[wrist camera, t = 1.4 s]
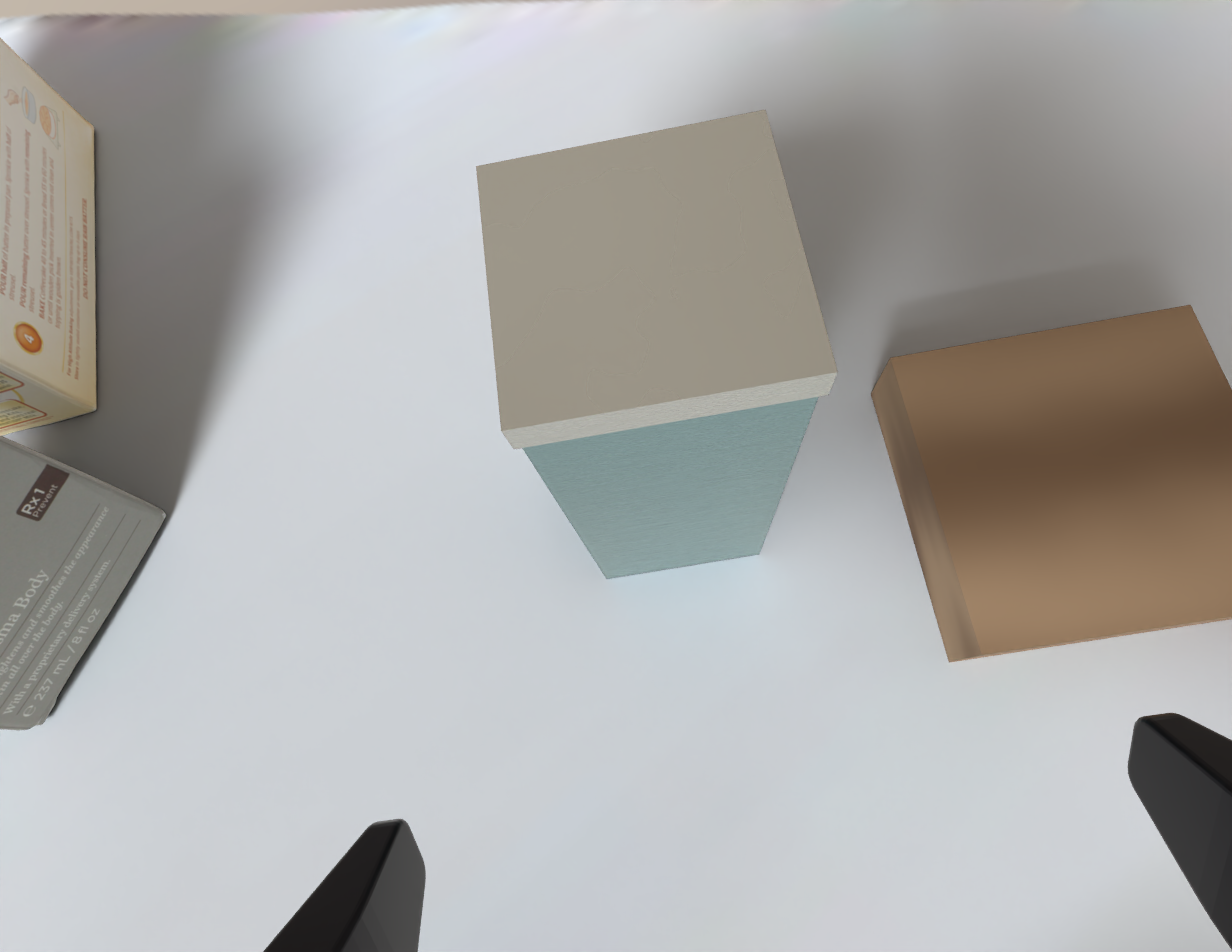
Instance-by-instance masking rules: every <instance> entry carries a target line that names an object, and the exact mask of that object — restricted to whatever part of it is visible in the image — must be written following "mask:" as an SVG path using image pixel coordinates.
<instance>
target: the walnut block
mask: <svg viewBox="0 0 1232 952" xmlns="http://www.w3.org/2000/svg"><path fill="white" fill-rule="evenodd" d="M871 396H872V400H873V403H874V407H875V410H876V413H877V417H878V420H879V424H880V427H881V431H882V434H883V437H884V441H885V444H886V448H887V451H888V455H889V458H890V461H891V465H892V468H893V472H894V475H895V479H896V482H897V485H898V489H899V492H900V496H901V499H902V503H903V506H904V509H905V513H906V516H907V520H908V523H909V527H910V530H911V534H912V537H913V540H914V544H915V547H916V551H917V554H918V558H919V561H920V564H921V568H922V571H923V575H924V578H925V582H926V585H927V588H928V592H929V595H930V599H931V602H932V606H933V609H934V612H935V616H936V619H937V623H938V626H939V630H940V633H941V636H942V640H943V643H944V647H945V650H946V654H947V657H948V660H949V662H955V661H962V660H968V659H975V658H981V657H988V656H994V655H1001V654H1007V653H1014V652H1020V651H1027V650H1033V649H1040V648H1046V647H1053V646H1059V645H1066V644H1072V643H1079V642H1085V641H1092V640H1098V639H1105V638H1111V637H1118V636H1124V635H1131V634H1138V633H1144V632H1151V631H1157V630H1164V629H1170V628H1177V627H1183V626H1190V625H1196V624H1203V623H1209V622H1216V621H1222V620H1229V619H1232V390H1231V387H1230V385H1229V383H1228V381H1227V379H1226V377H1225V375H1224V373H1223V371H1222V369H1221V367H1220V365H1219V363H1218V361H1217V358H1216V356H1215V354H1214V352H1213V350H1212V348H1211V346H1210V344H1209V342H1208V340H1207V338H1206V336H1205V334H1204V331H1203V329H1202V327H1201V325H1200V323H1199V321H1198V319H1197V317H1196V315H1195V313H1194V311H1193V309H1192V307H1191V305H1187V306H1181V307H1175V308H1170V309H1164V310H1158V311H1153V312H1147V313H1141V314H1136V315H1130V316H1124V317H1119V318H1113V319H1107V320H1102V321H1096V322H1090V323H1085V324H1079V325H1073V326H1068V327H1062V328H1056V329H1051V330H1045V331H1039V332H1034V333H1028V334H1022V335H1017V336H1011V337H1005V338H1000V339H994V340H988V341H983V342H977V343H971V344H966V345H960V346H954V347H949V348H943V349H937V350H932V351H926V352H920V353H915V354H909V355H903V356H898V357H892V358H890V359H889V361H888V363H887V365H886V367H885V369H884V370H883V372H882V374H881V376H880V378H879V380H878V382H877V383H876V385H875V387H874V389H873V391H872V393H871Z"/></svg>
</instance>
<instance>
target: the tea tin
mask: <svg viewBox="0 0 1232 952" xmlns="http://www.w3.org/2000/svg"><path fill="white" fill-rule="evenodd" d="M476 170H477V180H478V191H479V201H480V212H481V222H482V233H483V243H484V254H485V264H486V275H487V285H488V296H489V307H490V317H491V328H492V338H493V349H494V359H495V370H496V380H497V391H498V401H499V412H500V422H501V431H502V433H503V434H504V436H505V437H506V439H507V440H508V442H509V443H510V445H511V446H512V448H513V449H520V448H523V450H524V451H525V453H526V454H527V456H528V458H529V459H530V461H531V462H532V464H533V465H534V467H535V468H536V470H537V472H538V473H539V475H540V476H541V478H542V479H543V481H544V482H545V484H546V486H547V487H548V489H549V490H550V492H551V493H552V495H553V496H554V498H555V499H556V501H557V503H558V504H559V506H560V507H561V509H562V510H563V512H564V513H565V515H566V517H567V518H568V520H569V521H570V523H571V524H572V526H573V527H574V529H575V531H576V532H577V534H578V535H579V537H580V538H581V540H582V541H583V543H584V545H585V546H586V548H587V549H588V551H589V552H590V554H591V555H592V557H593V559H594V560H595V562H596V563H597V565H598V566H599V568H600V569H601V571H602V573H603V574H604V576H605V577H606V579H610V578H616V577H623V576H629V575H635V574H641V573H647V572H653V571H660V570H666V569H672V568H678V567H684V566H690V565H697V564H703V563H709V562H715V561H721V560H727V559H734V558H740V557H746V556H752V555H758V554H759V553H760V551H761V548H762V546H763V543H764V540H765V538H766V535H767V532H768V530H769V527H770V524H771V522H772V519H773V516H774V514H775V511H776V508H777V506H778V503H779V500H780V498H781V495H782V492H783V490H784V487H785V485H786V482H787V479H788V477H789V474H790V471H791V469H792V466H793V463H794V461H795V458H796V455H797V453H798V450H799V447H800V445H801V442H802V439H803V437H804V434H805V431H806V429H807V426H808V424H809V421H810V418H811V416H812V413H813V410H814V408H815V405H816V402H817V400H818V397H820V396H825V395H829V393H830V390H831V388H832V385H833V383H834V380H835V378H836V376H837V373H838V371H837V367H836V364H835V360H834V357H833V353H832V349H831V346H830V342H829V338H828V335H827V331H826V327H825V324H824V320H823V317H822V313H821V309H820V306H819V302H818V298H817V295H816V291H815V288H814V284H813V280H812V277H811V273H810V269H809V266H808V262H807V259H806V255H805V251H804V248H803V244H802V240H801V237H800V233H799V229H798V226H797V222H796V219H795V215H794V211H793V208H792V204H791V200H790V197H789V193H788V190H787V186H786V182H785V179H784V175H783V171H782V168H781V164H780V160H779V157H778V153H777V150H776V146H775V142H774V139H773V135H772V131H771V128H770V124H769V121H768V117H767V113H766V110H761V111H756V112H751V113H746V114H741V115H736V116H730V117H725V118H720V119H715V120H710V121H705V122H700V123H695V124H690V125H685V126H679V127H674V128H669V129H664V130H659V131H654V132H649V133H644V134H639V135H634V136H628V137H623V138H618V139H613V140H608V141H603V142H598V143H593V144H588V145H583V146H577V147H572V148H567V149H562V150H557V151H552V152H547V153H542V154H537V155H532V156H526V157H521V158H516V159H511V160H506V161H501V162H496V163H491V164H486V165H481V166H476Z"/></svg>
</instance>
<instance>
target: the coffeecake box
mask: <svg viewBox="0 0 1232 952" xmlns="http://www.w3.org/2000/svg"><path fill="white" fill-rule="evenodd" d="M95 297H96V291H95V198H94V127H93V125H91V124H90V123H89V122H88V121H86V120H85V119H84V118H83V117H82V116H81V115H80V114H79V113H78V112H77V111H76V110H75V109H74V108H72V107H71V106H70V105H69V104H68V103H67V102H66V101H65V100H64V99H63V98H62V97H61V96H60V95H59V94H58V93H57V92H56V91H55V90H54V89H52V88H51V87H50V86H49V85H48V84H47V83H46V82H45V81H44V80H43V79H42V78H41V77H40V76H39V75H38V74H37V73H36V72H35V71H34V70H33V69H32V68H31V67H30V66H29V65H28V64H27V63H26V62H25V61H24V60H23V59H21V58H20V57H19V56H18V55H17V54H16V53H15V52H14V51H13V50H12V49H11V48H10V47H9V46H8V45H7V44H6V43H5V42H4V41H3V40H2V39H1V38H0V436H3V435H6V434H9V433H13V432H16V431H20V430H24V429H29V428H33V427H38V426H43V425H47V424H51V423H55V422H58V421H61V420H65V419H69V418H73V417H76V416H79V415H83V414H86V413H90V412H93V411H95V410H96V320H95Z"/></svg>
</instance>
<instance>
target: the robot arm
mask: <svg viewBox="0 0 1232 952" xmlns="http://www.w3.org/2000/svg"><path fill="white" fill-rule="evenodd" d="M1128 774H1129V778H1130V781H1131V783H1132V786H1133V788H1134V790H1135V791H1136V793H1137V795H1138V797H1139V798H1140V800H1141V802H1142V803H1143V805H1144V807H1145V809H1146V810H1147V812H1148V814H1149V815H1150V817H1151V819H1152V821H1153V822H1154V824H1155V826H1156V827H1157V829H1158V831H1159V833H1160V834H1161V836H1162V838H1163V839H1164V841H1165V843H1166V845H1167V846H1168V848H1169V850H1170V851H1171V853H1172V855H1173V857H1174V858H1175V860H1176V862H1177V863H1178V865H1179V867H1180V869H1181V870H1182V872H1183V874H1184V875H1185V877H1186V879H1187V881H1188V882H1189V884H1190V886H1191V887H1192V889H1193V891H1194V892H1195V894H1196V896H1197V898H1198V899H1199V901H1200V902H1201V904H1202V906H1203V907H1204V909H1205V910H1206V912H1207V914H1208V915H1209V917H1210V919H1211V920H1212V922H1213V923H1214V924H1215V926H1216V927H1217V929H1218V930H1219V932H1220V933H1221V935H1222V936H1223V938H1224V939H1225V941H1226V942H1227V943H1228V945H1229V946H1230V948H1231V949H1232V740H1230V739H1228V738H1226V737H1224V736H1222V735H1220V734H1218V733H1216V732H1214V731H1212V730H1210V729H1208V728H1206V727H1204V726H1202V725H1200V724H1198V723H1196V722H1194V721H1192V720H1190V719H1188V718H1186V717H1184V716H1182V715H1179V714H1175V713H1165V714H1158V715H1151V716H1143V717H1141V718H1139V719H1138V720H1137V721H1136V722H1135V725H1134V730H1133V736H1132V742H1131V748H1130V754H1129V760H1128ZM425 879H426V877H425V865H424V861H423V858H422V856H421V853H420V851H419V848H418V846H417V844H416V841H415V839H414V837H413V834H412V832H411V829H410V827H409V825H408V823H407V822H406V821H405V820H403V819H394V820H387V821H380V822H375V823H373V824H372V825H370V826H369V827H368V828H367V829H366V830H365V831H364V832H363V834H362V835H361V836H360V837H359V838H358V840H357V841H356V842H355V843H354V844H353V846H352V847H351V848H350V849H349V850H348V852H347V853H346V854H345V855H344V856H343V857H342V859H341V860H340V861H339V862H338V863H337V865H336V866H335V867H334V868H333V869H332V871H331V872H330V873H329V874H328V875H327V876H326V878H325V879H324V880H323V881H322V882H321V884H320V885H319V886H318V887H317V888H316V890H315V891H314V892H313V893H312V894H311V895H310V897H309V898H308V899H307V900H306V901H305V903H304V904H303V905H302V906H301V907H300V909H299V910H298V911H297V912H296V913H295V915H294V916H293V917H292V918H291V919H290V920H289V922H288V923H287V924H286V925H285V926H284V928H283V929H282V930H281V931H280V932H279V934H278V935H277V936H276V937H275V938H274V939H273V941H272V942H271V943H270V944H269V945H268V947H267V948H266V949H265V950H264V951H263V952H418V943H419V934H420V925H421V916H422V907H423V898H424V889H425Z"/></svg>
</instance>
